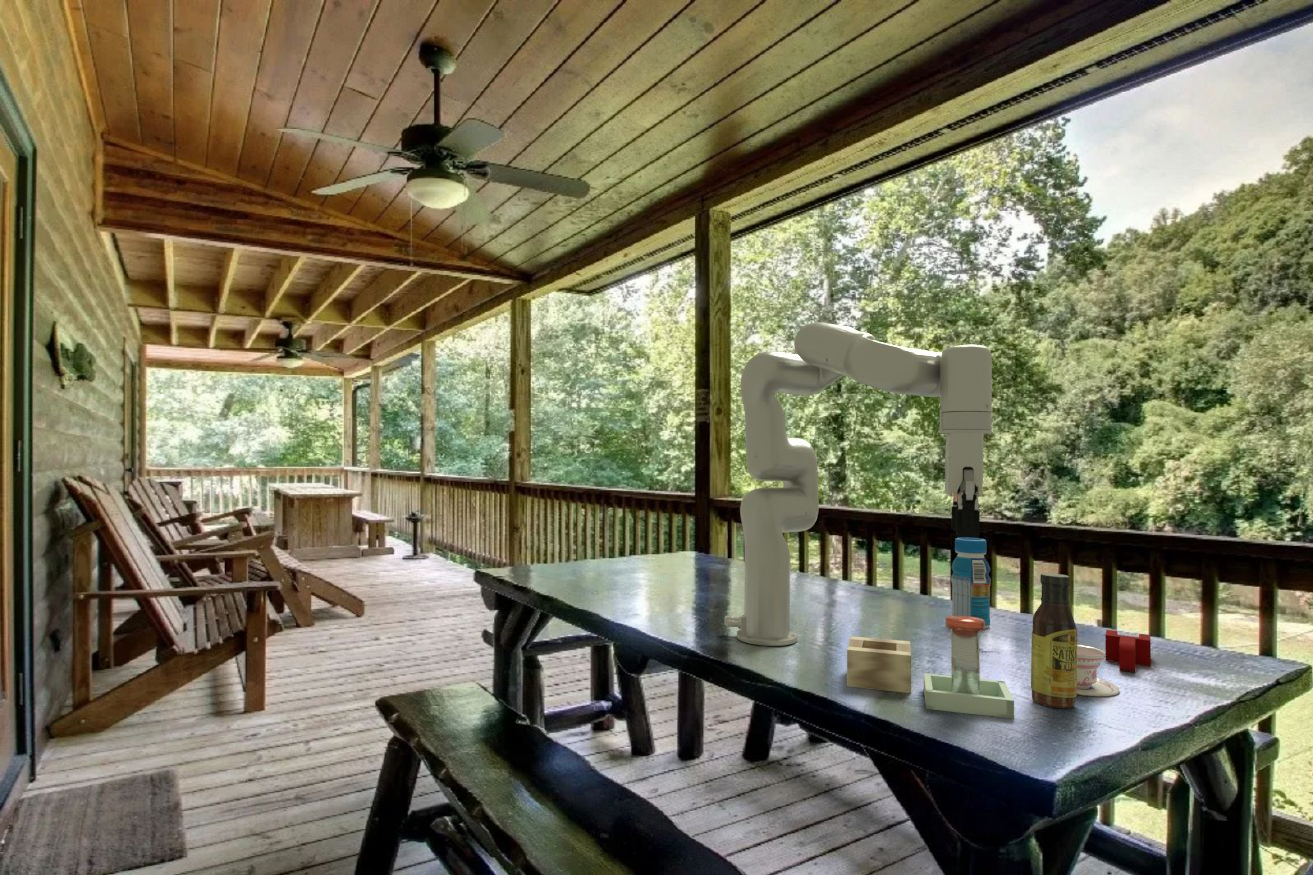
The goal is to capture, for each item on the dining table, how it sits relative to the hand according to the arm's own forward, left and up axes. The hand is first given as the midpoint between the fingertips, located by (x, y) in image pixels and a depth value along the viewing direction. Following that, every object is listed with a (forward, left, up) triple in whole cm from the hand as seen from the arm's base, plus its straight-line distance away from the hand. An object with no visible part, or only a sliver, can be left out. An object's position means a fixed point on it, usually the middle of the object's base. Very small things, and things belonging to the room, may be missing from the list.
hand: (964, 534), depth 112 cm
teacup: (+19, +17, -26) cm, 36 cm away
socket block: (-13, +7, -26) cm, 30 cm away
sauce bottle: (+13, +5, -26) cm, 30 cm away
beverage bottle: (+6, +60, -26) cm, 66 cm away
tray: (0, 0, -26) cm, 26 cm away
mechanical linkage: (+31, +36, -27) cm, 55 cm away
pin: (0, 0, -25) cm, 25 cm away
